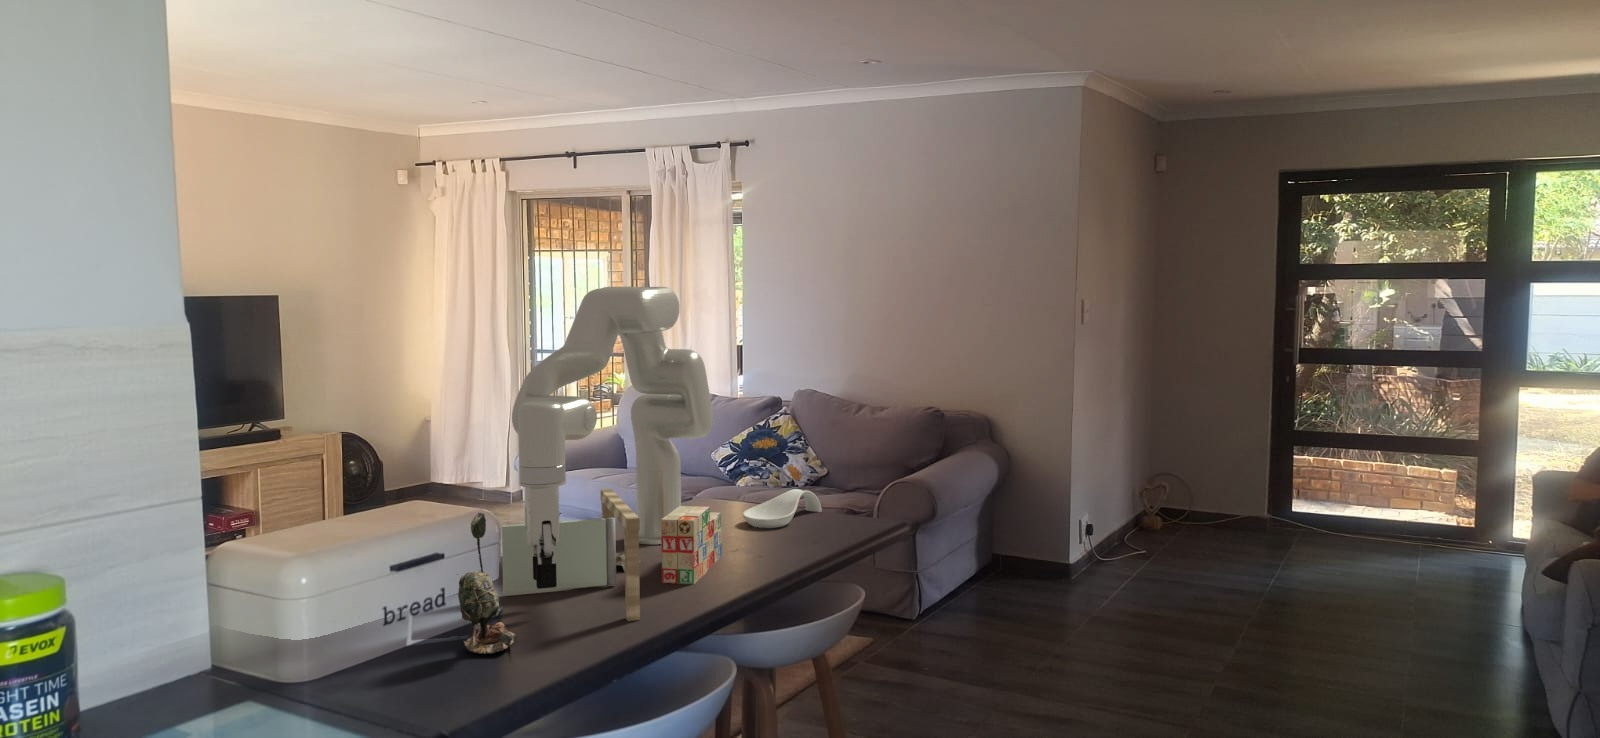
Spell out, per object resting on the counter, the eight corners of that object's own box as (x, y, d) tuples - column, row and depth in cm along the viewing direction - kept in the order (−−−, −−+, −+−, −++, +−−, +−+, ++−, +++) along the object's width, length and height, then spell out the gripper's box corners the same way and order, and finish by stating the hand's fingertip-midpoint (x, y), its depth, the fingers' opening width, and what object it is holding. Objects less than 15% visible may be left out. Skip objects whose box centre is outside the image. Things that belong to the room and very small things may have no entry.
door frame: (602, 580, 202) (600, 489, 201) (612, 579, 202) (611, 488, 201) (628, 623, 175) (627, 518, 174) (641, 621, 176) (639, 518, 175)
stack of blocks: (692, 556, 220) (691, 496, 219) (722, 557, 219) (721, 497, 218) (661, 584, 199) (660, 518, 198) (694, 586, 198) (693, 519, 197)
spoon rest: (774, 536, 239) (773, 504, 239) (732, 529, 246) (732, 498, 245) (834, 518, 258) (833, 488, 258) (793, 512, 265) (793, 483, 265)
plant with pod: (440, 656, 160) (437, 521, 158) (484, 633, 170) (481, 507, 169) (489, 661, 157) (485, 525, 156) (530, 637, 168) (527, 509, 167)
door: (615, 582, 198) (614, 517, 197) (616, 584, 197) (615, 519, 196) (503, 592, 192) (501, 525, 191) (503, 594, 190) (502, 527, 190)
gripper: (515, 469, 187) (517, 573, 189) (523, 485, 171) (526, 598, 173) (559, 466, 190) (561, 569, 191) (571, 482, 174) (574, 594, 175)
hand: (544, 582), depth 182 cm, fingers open, 4 cm apart
